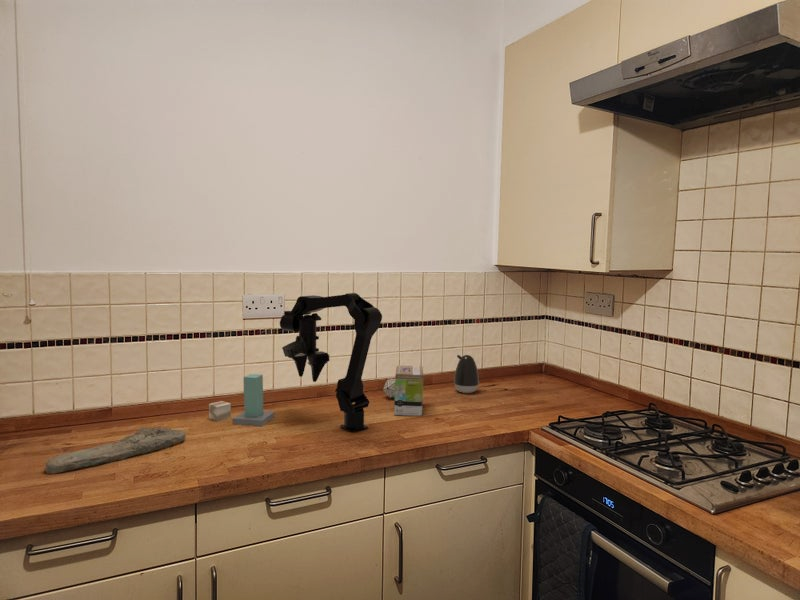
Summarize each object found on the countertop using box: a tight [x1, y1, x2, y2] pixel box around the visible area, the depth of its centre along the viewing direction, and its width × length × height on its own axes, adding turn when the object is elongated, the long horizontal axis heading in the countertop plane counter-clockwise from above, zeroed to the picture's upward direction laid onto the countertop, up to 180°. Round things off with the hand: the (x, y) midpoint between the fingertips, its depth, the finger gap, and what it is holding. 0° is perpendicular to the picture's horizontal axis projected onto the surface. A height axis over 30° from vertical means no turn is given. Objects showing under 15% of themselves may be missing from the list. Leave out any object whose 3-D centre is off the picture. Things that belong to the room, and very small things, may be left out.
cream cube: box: [208, 400, 232, 422], centre depth 176 cm, size 5×5×5 cm
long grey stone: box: [44, 426, 187, 475], centre depth 144 cm, size 35×5×10 cm
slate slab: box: [232, 410, 276, 427], centre depth 175 cm, size 10×10×2 cm
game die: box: [380, 377, 395, 400], centre depth 204 cm, size 9×8×10 cm
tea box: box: [393, 365, 424, 417], centre depth 189 cm, size 15×10×15 cm
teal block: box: [243, 373, 265, 417], centre depth 174 cm, size 4×4×13 cm
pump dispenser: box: [453, 354, 480, 394], centre depth 215 cm, size 10×10×15 cm
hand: (307, 379), depth 178 cm, fingers open, 9 cm apart
